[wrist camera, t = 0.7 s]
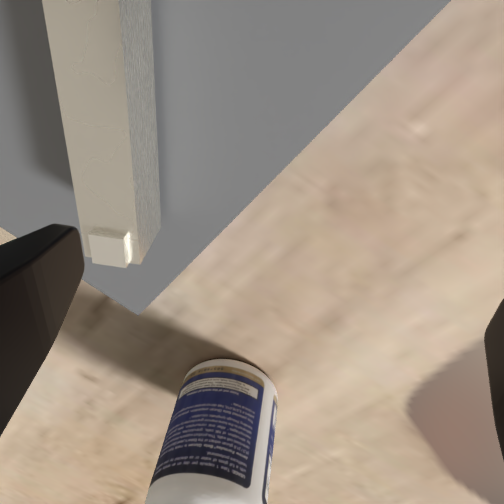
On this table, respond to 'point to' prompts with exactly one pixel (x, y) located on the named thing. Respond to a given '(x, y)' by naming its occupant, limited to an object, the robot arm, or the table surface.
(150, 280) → the dial plate
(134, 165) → the pointer
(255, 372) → the pill bottle
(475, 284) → the table surface
